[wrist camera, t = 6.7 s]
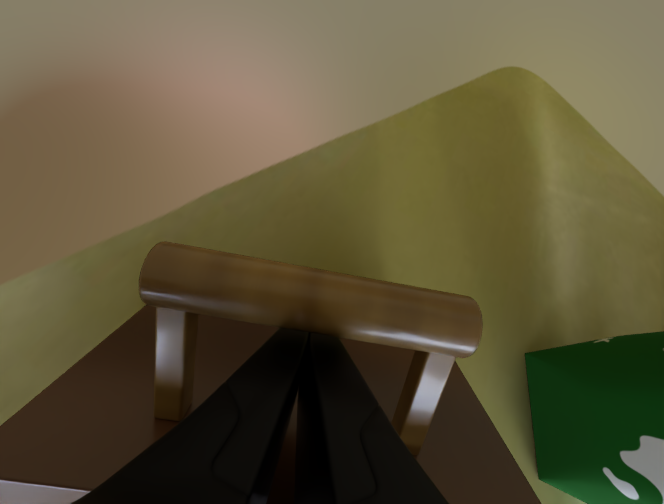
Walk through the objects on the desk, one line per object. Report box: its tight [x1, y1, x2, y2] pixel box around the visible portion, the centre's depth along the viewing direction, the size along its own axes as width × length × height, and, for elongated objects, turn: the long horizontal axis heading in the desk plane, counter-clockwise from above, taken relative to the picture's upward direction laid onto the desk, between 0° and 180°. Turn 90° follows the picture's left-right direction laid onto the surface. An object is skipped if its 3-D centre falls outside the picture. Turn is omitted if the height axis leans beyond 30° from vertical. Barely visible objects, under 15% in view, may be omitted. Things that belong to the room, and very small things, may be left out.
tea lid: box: [0, 241, 541, 504], centre depth 9 cm, size 8×12×5 cm
